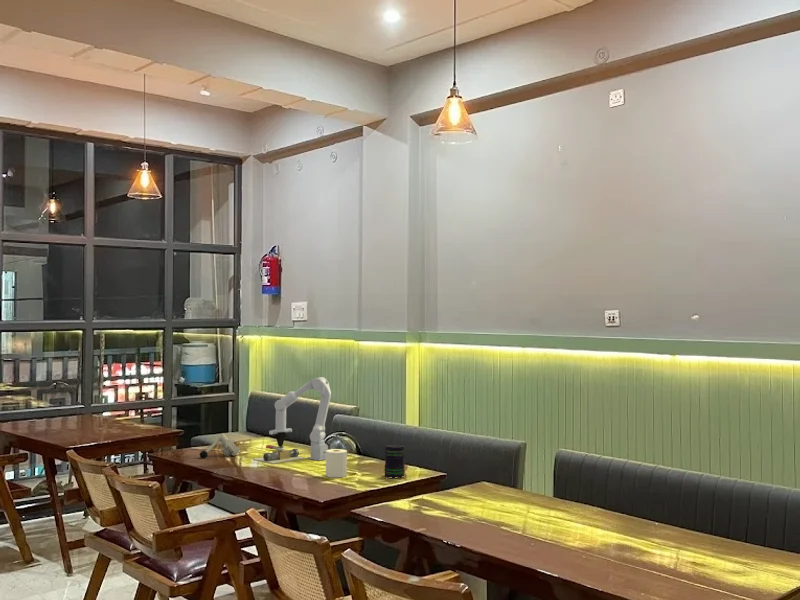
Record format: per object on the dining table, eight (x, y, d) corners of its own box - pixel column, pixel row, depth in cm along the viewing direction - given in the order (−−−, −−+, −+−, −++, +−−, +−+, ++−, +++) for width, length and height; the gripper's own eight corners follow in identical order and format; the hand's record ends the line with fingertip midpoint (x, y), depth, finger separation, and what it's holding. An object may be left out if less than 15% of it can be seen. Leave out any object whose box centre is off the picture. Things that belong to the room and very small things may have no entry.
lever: (287, 450, 414) (287, 446, 414) (280, 451, 410) (280, 447, 410) (271, 447, 423) (271, 443, 423) (264, 448, 420) (264, 444, 420)
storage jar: (380, 475, 374) (380, 445, 375) (395, 473, 381) (396, 443, 381) (393, 479, 367) (393, 447, 367) (408, 477, 373) (409, 446, 374)
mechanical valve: (243, 451, 421) (225, 431, 417) (219, 475, 413) (201, 455, 408) (235, 450, 430) (218, 430, 425) (212, 473, 421) (195, 454, 417)
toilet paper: (350, 475, 375) (351, 450, 375) (337, 478, 366) (338, 453, 367) (334, 472, 381) (334, 448, 381) (321, 476, 372) (321, 450, 372)
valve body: (300, 458, 419) (300, 449, 419) (269, 462, 403) (269, 453, 404) (292, 456, 423) (292, 448, 423) (261, 461, 408) (262, 452, 408)
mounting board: (304, 458, 418) (304, 457, 418) (272, 463, 401) (272, 462, 401) (285, 454, 428) (285, 453, 428) (253, 459, 412) (253, 458, 412)
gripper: (286, 419, 431) (285, 444, 431) (265, 421, 420) (265, 446, 420) (294, 421, 426) (294, 445, 426) (274, 423, 416) (273, 448, 415)
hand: (280, 446), depth 423 cm, fingers closed
